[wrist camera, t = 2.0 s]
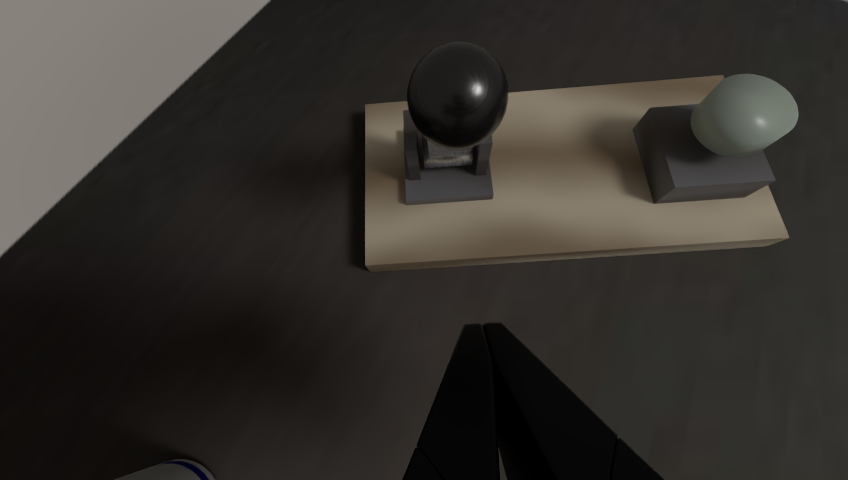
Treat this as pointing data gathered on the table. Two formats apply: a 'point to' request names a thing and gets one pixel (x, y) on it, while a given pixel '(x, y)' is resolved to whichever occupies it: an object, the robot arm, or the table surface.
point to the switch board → (565, 183)
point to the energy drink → (172, 471)
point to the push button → (743, 115)
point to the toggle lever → (456, 101)
